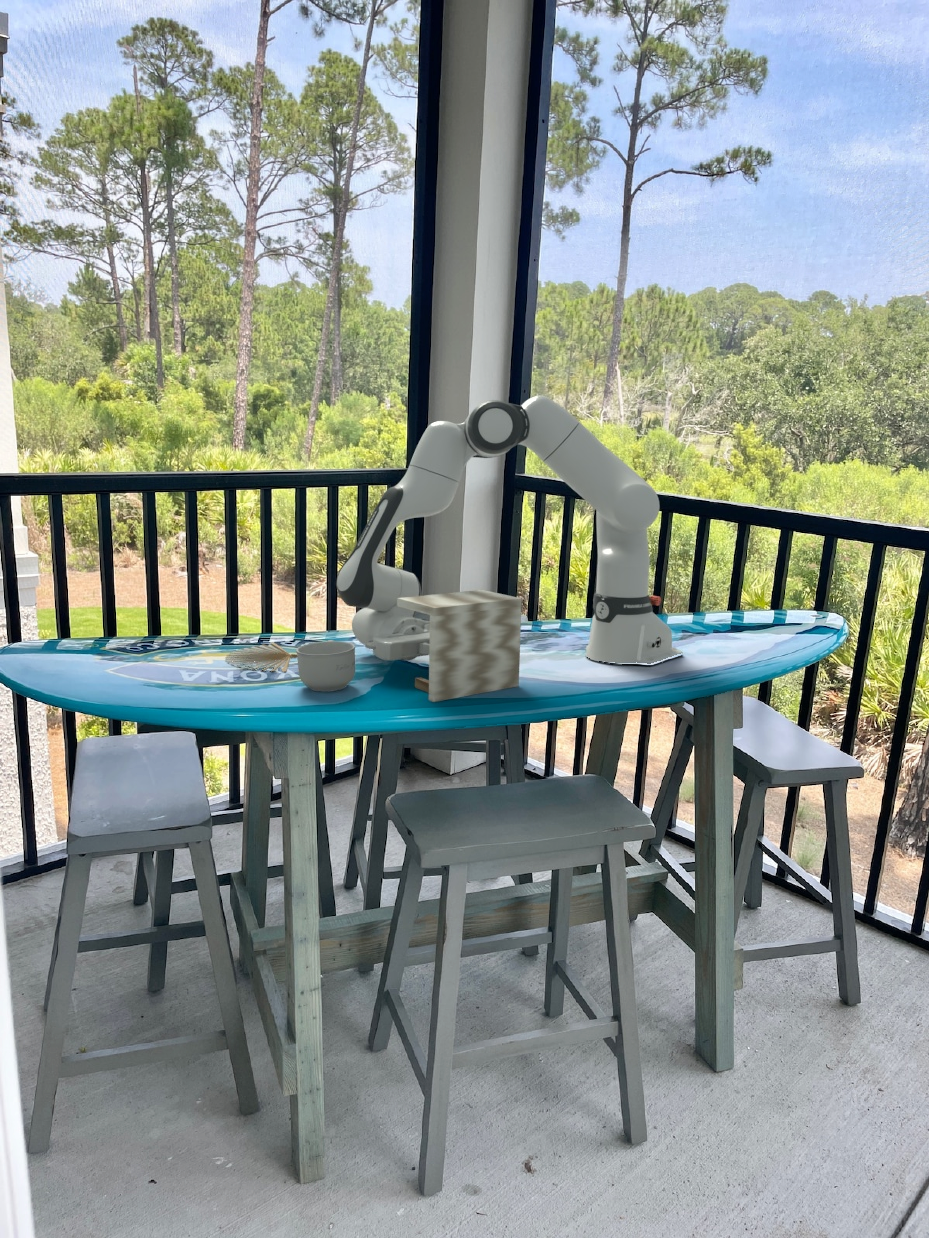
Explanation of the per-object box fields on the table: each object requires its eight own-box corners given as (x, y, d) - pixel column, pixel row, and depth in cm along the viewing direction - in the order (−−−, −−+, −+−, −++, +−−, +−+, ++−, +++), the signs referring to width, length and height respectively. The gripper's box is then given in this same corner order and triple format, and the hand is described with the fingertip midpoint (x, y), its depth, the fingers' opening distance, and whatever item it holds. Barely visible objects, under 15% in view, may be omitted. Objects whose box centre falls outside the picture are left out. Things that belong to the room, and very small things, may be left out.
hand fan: (292, 644, 204) (223, 647, 199) (292, 641, 203) (223, 644, 199) (304, 672, 179) (227, 676, 175) (304, 669, 179) (227, 672, 174)
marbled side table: (479, 672, 180) (481, 589, 177) (518, 686, 171) (521, 598, 168) (396, 687, 168) (397, 598, 165) (433, 702, 159) (435, 607, 156)
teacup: (345, 697, 161) (345, 654, 160) (288, 693, 163) (287, 650, 161) (366, 678, 175) (366, 638, 173) (313, 675, 176) (312, 635, 175)
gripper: (360, 628, 176) (399, 641, 165) (444, 618, 188) (485, 629, 178) (360, 659, 177) (398, 674, 167) (444, 647, 190) (484, 660, 179)
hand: (444, 651), depth 172 cm, fingers closed, pressing on cup
